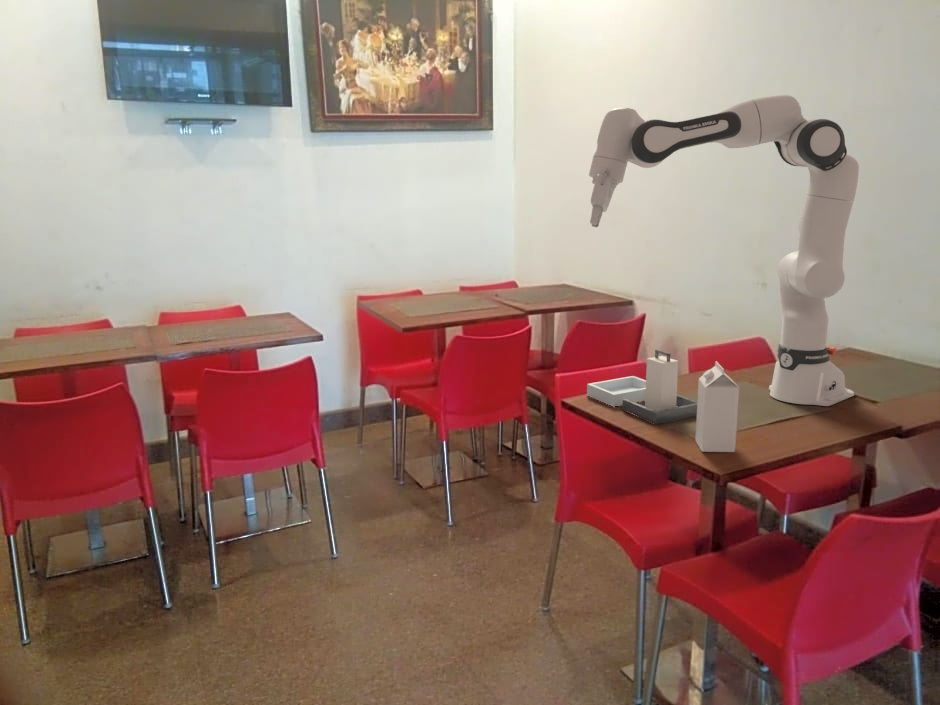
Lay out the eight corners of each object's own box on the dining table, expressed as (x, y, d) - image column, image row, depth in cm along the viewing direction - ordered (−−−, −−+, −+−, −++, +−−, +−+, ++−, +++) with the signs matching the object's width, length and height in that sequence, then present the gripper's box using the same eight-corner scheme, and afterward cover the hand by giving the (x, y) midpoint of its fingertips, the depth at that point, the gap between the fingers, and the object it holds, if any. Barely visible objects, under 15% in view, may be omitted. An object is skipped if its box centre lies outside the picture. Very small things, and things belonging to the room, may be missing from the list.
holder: (667, 401, 194) (667, 390, 193) (702, 414, 183) (702, 403, 182) (622, 410, 188) (622, 399, 187) (655, 424, 176) (656, 413, 176)
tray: (632, 387, 207) (633, 375, 206) (660, 398, 197) (661, 385, 196) (587, 395, 200) (587, 383, 200) (613, 407, 190) (613, 394, 189)
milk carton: (727, 441, 164) (732, 361, 160) (735, 453, 157) (740, 369, 153) (695, 441, 165) (699, 361, 160) (701, 452, 158) (706, 369, 154)
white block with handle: (660, 407, 189) (662, 347, 185) (675, 413, 184) (678, 352, 180) (645, 410, 187) (647, 350, 183) (660, 416, 182) (663, 355, 178)
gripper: (619, 168, 174) (605, 225, 176) (619, 180, 194) (606, 230, 196) (593, 163, 175) (579, 219, 177) (596, 175, 195) (584, 225, 197)
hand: (593, 225), depth 187 cm, fingers open, 8 cm apart
